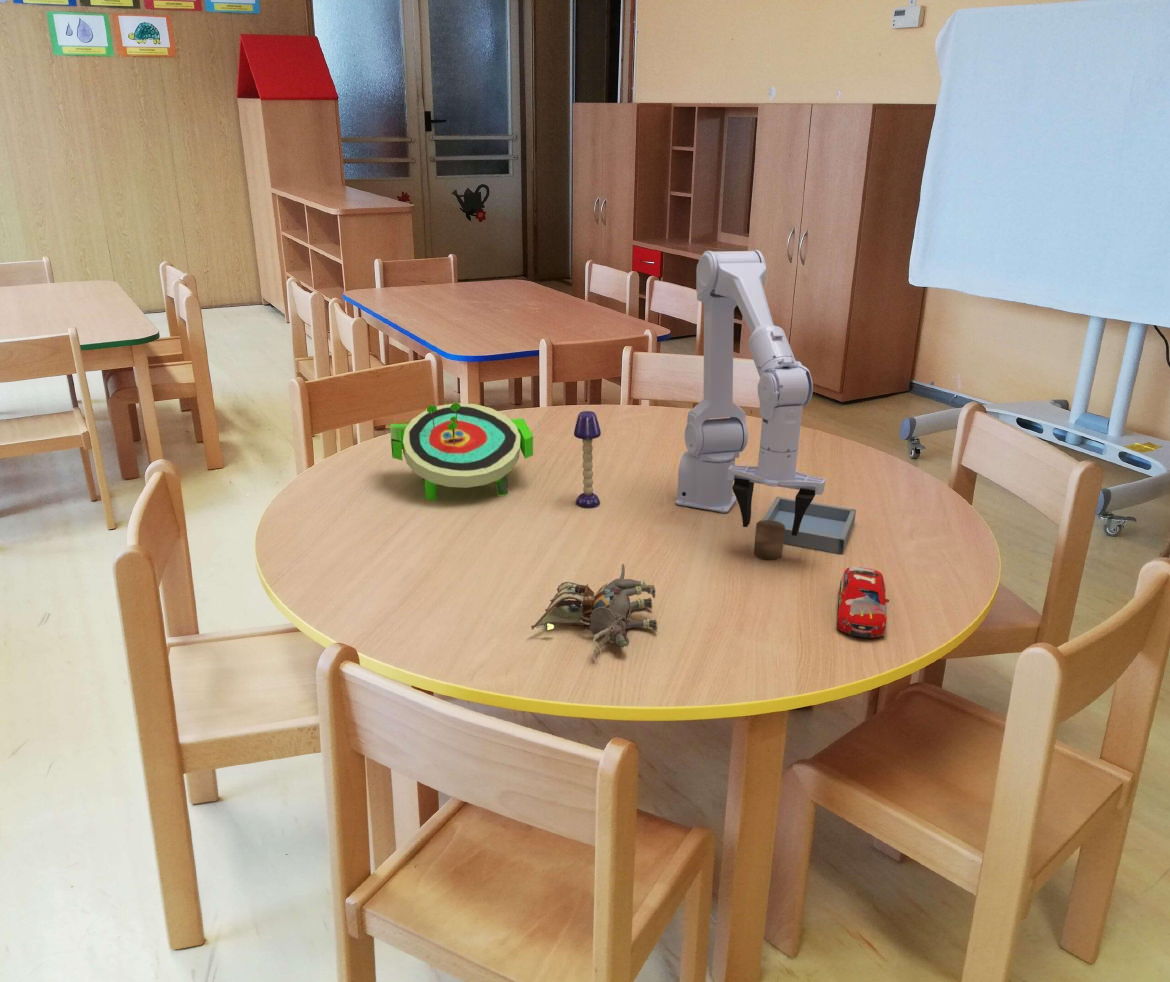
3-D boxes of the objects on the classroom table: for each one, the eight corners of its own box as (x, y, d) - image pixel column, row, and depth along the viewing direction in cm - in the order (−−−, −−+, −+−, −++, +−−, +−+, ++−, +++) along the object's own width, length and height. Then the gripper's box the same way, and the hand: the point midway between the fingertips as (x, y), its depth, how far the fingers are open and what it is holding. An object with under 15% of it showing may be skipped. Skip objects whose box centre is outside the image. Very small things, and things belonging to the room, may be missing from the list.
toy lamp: (575, 509, 163) (577, 417, 157) (570, 499, 167) (572, 409, 161) (602, 507, 164) (605, 416, 158) (596, 497, 168) (599, 408, 162)
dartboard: (395, 512, 160) (390, 422, 154) (392, 474, 177) (388, 392, 171) (539, 503, 165) (540, 416, 160) (523, 467, 182) (523, 387, 176)
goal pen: (757, 538, 153) (759, 524, 152) (775, 509, 165) (776, 496, 164) (842, 554, 148) (844, 539, 148) (854, 523, 160) (856, 509, 159)
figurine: (667, 629, 115) (531, 632, 114) (665, 669, 118) (531, 673, 117) (647, 550, 133) (529, 553, 132) (646, 587, 136) (530, 589, 135)
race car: (884, 647, 123) (890, 614, 121) (832, 638, 125) (836, 605, 123) (886, 592, 137) (891, 561, 135) (839, 584, 139) (843, 554, 137)
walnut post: (750, 557, 147) (753, 528, 145) (757, 546, 150) (759, 518, 149) (778, 562, 145) (781, 533, 143) (784, 551, 149) (787, 522, 147)
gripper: (725, 447, 140) (718, 530, 145) (823, 461, 135) (812, 547, 140) (736, 434, 146) (730, 514, 151) (831, 447, 141) (820, 529, 146)
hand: (770, 529), depth 146 cm, fingers open, 7 cm apart
